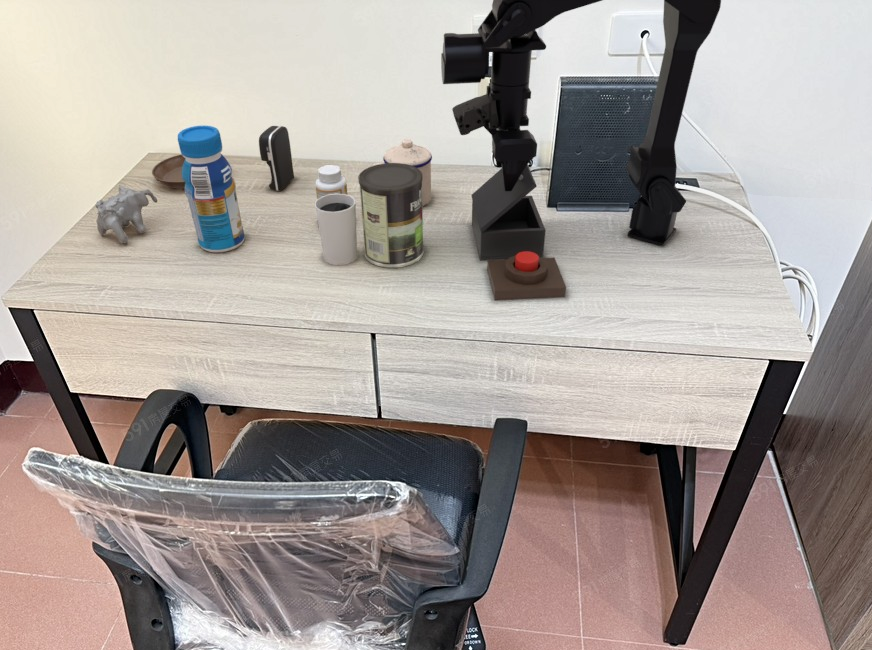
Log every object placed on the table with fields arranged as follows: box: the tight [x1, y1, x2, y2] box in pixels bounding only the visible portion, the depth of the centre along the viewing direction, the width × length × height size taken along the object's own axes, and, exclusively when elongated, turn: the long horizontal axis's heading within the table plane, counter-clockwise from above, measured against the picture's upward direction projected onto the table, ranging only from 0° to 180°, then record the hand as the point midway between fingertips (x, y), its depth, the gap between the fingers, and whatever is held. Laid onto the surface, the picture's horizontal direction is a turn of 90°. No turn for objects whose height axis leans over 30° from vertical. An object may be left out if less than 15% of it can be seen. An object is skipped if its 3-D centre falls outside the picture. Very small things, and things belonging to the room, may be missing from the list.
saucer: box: [151, 153, 186, 190], centre depth 147 cm, size 15×15×3 cm
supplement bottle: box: [315, 164, 348, 200], centre depth 128 cm, size 6×6×10 cm
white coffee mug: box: [314, 194, 358, 266], centre depth 118 cm, size 7×7×10 cm
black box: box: [471, 195, 547, 262], centre depth 122 cm, size 11×13×5 cm
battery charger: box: [258, 125, 295, 192], centre depth 141 cm, size 7×4×11 cm, turn 162°
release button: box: [515, 251, 539, 272], centre depth 111 cm, size 4×4×2 cm
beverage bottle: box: [177, 125, 246, 253], centre depth 120 cm, size 8×8×20 cm
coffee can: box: [357, 162, 424, 269], centre depth 117 cm, size 10×10×14 cm
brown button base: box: [486, 255, 567, 301], centre depth 112 cm, size 11×9×4 cm
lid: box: [471, 163, 538, 232], centre depth 117 cm, size 11×13×4 cm
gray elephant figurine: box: [95, 185, 158, 244], centre depth 129 cm, size 9×12×8 cm
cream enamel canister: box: [371, 139, 433, 207], centre depth 134 cm, size 12×9×12 cm
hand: (503, 178), depth 116 cm, fingers open, 9 cm apart
